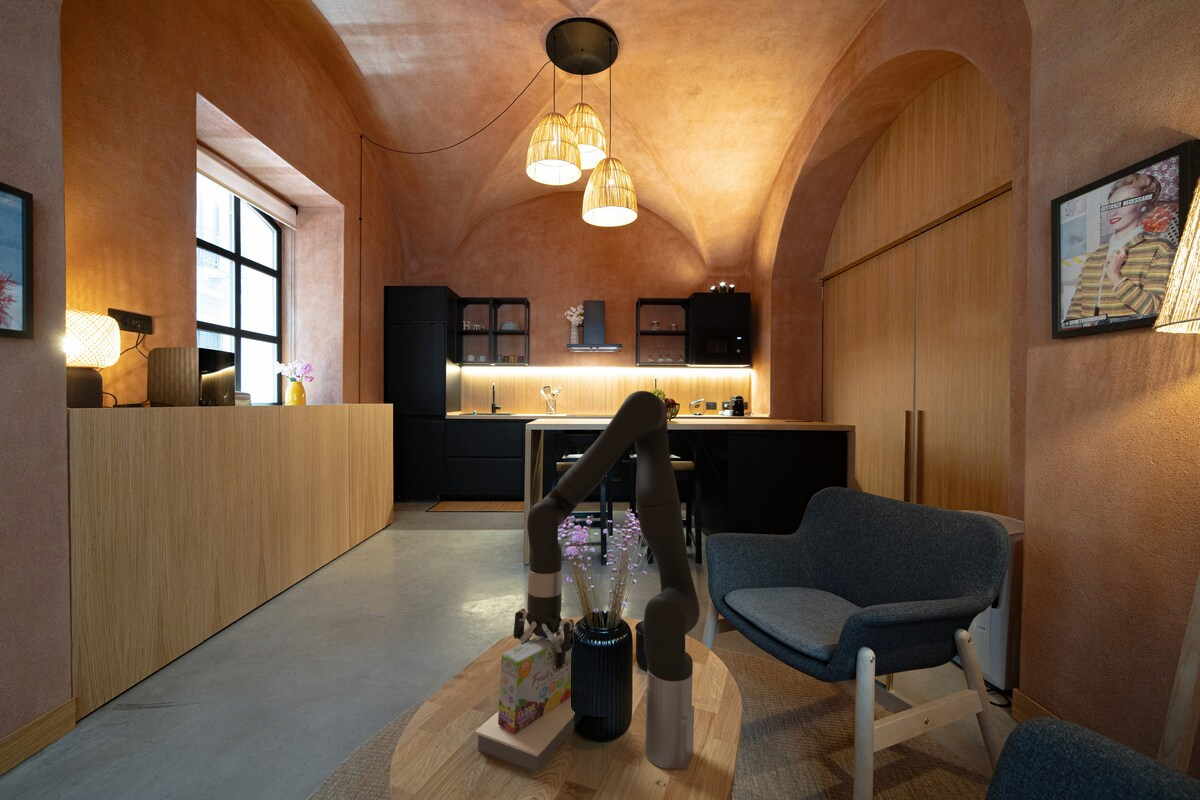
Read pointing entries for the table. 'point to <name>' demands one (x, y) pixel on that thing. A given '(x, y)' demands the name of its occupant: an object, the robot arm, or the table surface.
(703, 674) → the table surface
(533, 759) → the display podium
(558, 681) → the snack box
